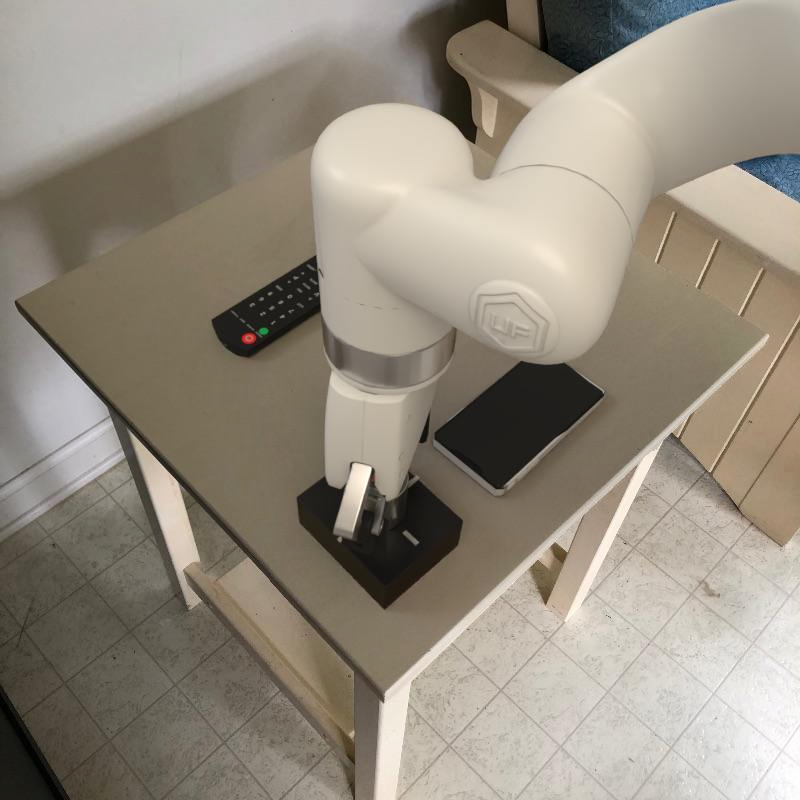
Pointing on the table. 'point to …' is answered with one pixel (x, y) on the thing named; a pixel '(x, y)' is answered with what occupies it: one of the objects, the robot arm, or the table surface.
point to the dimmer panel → (408, 542)
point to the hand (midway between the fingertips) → (387, 488)
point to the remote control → (270, 310)
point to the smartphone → (517, 422)
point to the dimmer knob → (392, 505)
